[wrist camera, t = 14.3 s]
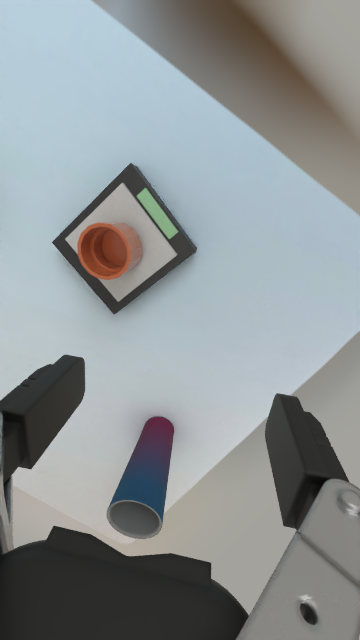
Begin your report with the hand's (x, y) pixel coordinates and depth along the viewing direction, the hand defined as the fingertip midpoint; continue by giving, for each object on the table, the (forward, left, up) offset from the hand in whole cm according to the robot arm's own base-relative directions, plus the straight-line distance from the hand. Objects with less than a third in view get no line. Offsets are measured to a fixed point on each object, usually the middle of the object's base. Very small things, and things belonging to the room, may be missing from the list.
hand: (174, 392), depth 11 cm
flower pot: (+6, -9, -23) cm, 26 cm away
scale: (+6, -9, -26) cm, 28 cm away
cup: (+22, +17, -26) cm, 38 cm away
